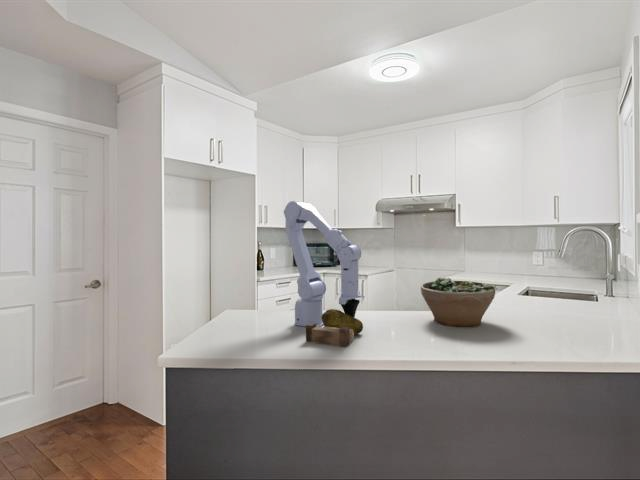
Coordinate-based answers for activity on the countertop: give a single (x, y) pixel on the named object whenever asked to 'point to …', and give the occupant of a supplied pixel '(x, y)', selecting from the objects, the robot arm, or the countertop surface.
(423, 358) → the countertop surface
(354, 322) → the potato
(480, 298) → the planter
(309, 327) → the stop rail
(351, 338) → the roller
